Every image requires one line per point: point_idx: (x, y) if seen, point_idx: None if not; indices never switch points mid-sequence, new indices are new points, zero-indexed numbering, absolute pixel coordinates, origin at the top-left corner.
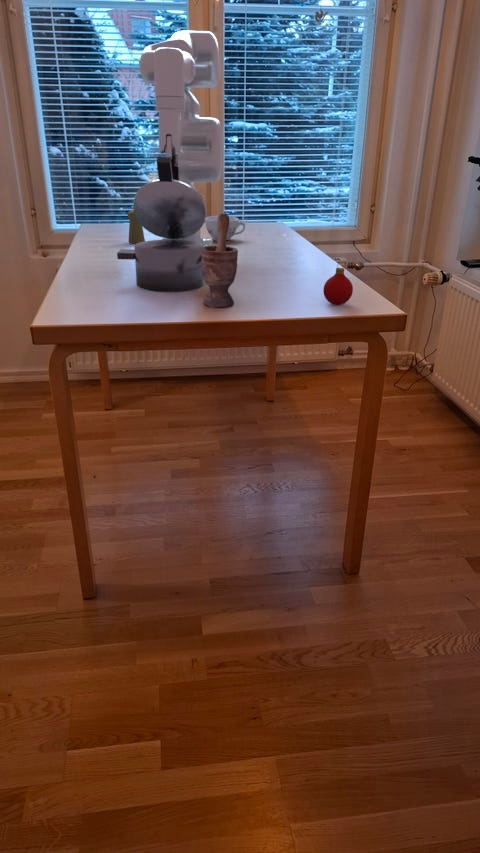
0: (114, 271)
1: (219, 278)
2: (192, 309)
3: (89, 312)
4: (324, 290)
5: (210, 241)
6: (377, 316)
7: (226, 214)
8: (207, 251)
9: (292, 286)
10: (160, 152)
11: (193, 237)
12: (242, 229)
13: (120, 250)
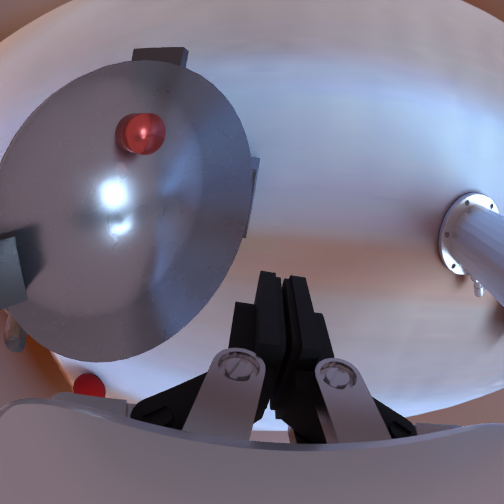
0: (299, 41)
1: None
2: None
3: (22, 74)
4: (81, 378)
5: (476, 292)
6: (71, 388)
7: (9, 349)
8: None
9: (167, 368)
10: (29, 398)
11: (466, 263)
12: None
13: (166, 49)
